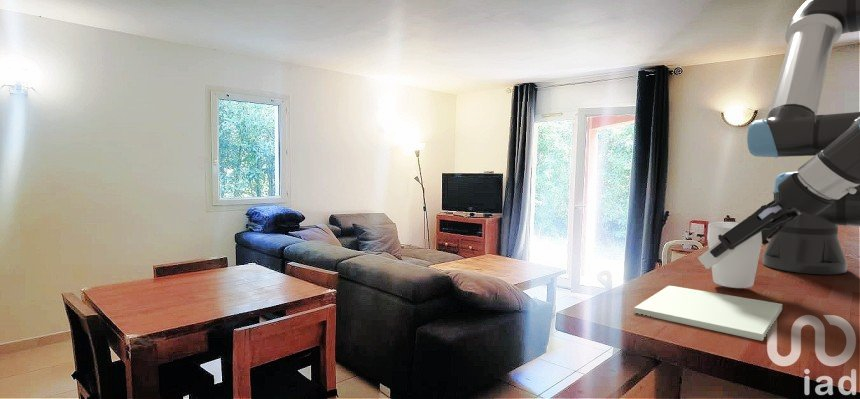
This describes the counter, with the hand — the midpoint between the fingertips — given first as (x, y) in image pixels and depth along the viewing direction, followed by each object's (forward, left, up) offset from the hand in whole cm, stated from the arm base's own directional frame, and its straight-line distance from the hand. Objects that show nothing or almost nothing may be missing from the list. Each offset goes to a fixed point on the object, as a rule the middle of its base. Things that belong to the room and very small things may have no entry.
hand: (716, 259), depth 91 cm
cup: (+1, +3, -4) cm, 6 cm away
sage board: (+19, +3, -5) cm, 20 cm away
